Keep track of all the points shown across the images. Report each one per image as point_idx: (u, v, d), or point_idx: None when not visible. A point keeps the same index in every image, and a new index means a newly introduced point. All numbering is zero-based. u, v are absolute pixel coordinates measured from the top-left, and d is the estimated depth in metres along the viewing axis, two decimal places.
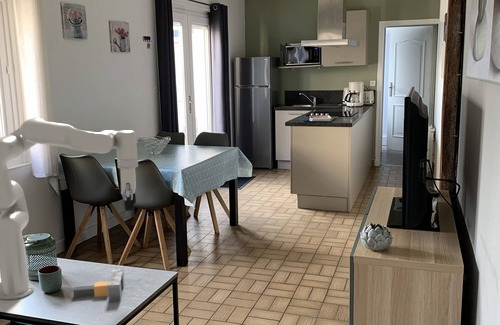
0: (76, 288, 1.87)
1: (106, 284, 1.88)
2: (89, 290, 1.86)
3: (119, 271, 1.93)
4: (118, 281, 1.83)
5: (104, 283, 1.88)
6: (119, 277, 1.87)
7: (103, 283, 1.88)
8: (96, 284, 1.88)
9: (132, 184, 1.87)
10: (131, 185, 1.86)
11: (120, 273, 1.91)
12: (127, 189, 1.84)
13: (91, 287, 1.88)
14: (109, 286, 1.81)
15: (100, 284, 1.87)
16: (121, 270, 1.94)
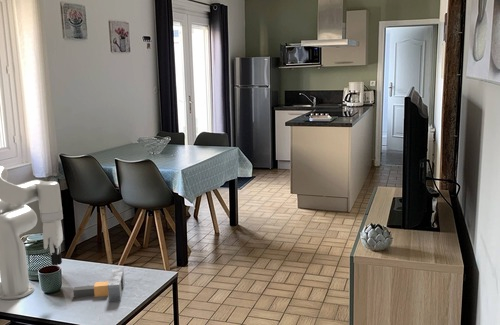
0: (76, 288, 1.87)
1: (106, 284, 1.88)
2: (89, 290, 1.86)
3: (119, 271, 1.93)
4: (118, 281, 1.83)
5: (104, 283, 1.88)
6: (119, 277, 1.87)
7: (103, 283, 1.88)
8: (96, 284, 1.88)
9: (55, 239, 1.78)
10: (54, 240, 1.78)
11: (120, 273, 1.91)
12: (51, 250, 1.78)
13: (91, 287, 1.88)
14: (109, 286, 1.81)
15: (100, 284, 1.87)
16: (121, 270, 1.94)
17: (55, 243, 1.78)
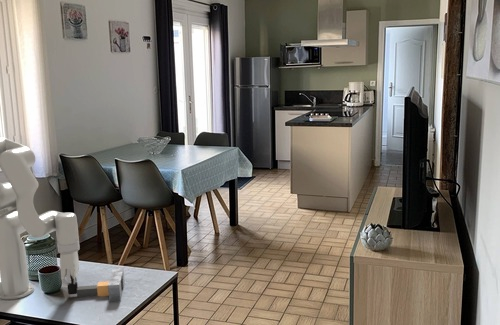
0: (79, 288, 1.87)
1: None
2: (92, 290, 1.87)
3: (119, 271, 1.93)
4: (118, 281, 1.83)
5: (107, 283, 1.89)
6: (119, 277, 1.87)
7: (106, 283, 1.89)
8: (99, 284, 1.88)
9: (72, 269, 1.81)
10: (71, 271, 1.81)
11: (120, 273, 1.91)
12: (68, 280, 1.81)
13: (94, 287, 1.88)
14: (109, 286, 1.81)
15: (104, 284, 1.87)
16: (121, 270, 1.94)
17: (72, 274, 1.81)
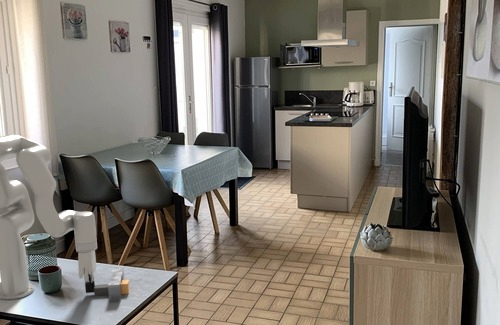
0: (96, 286, 1.88)
1: (126, 282, 1.89)
2: None
3: (119, 271, 1.93)
4: (118, 281, 1.83)
5: (124, 281, 1.90)
6: (119, 277, 1.87)
7: (123, 281, 1.90)
8: None
9: (90, 268, 1.82)
10: (89, 269, 1.81)
11: (120, 273, 1.91)
12: (86, 279, 1.82)
13: None
14: (109, 286, 1.81)
15: (121, 283, 1.88)
16: (121, 270, 1.94)
17: (90, 272, 1.82)
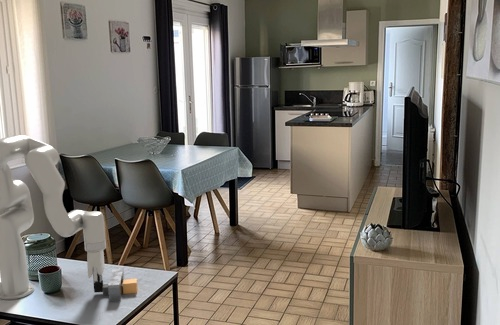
0: (105, 285, 1.89)
1: (135, 281, 1.89)
2: None
3: (119, 271, 1.93)
4: (118, 281, 1.83)
5: (132, 280, 1.90)
6: (119, 277, 1.87)
7: (131, 280, 1.90)
8: (125, 281, 1.89)
9: (99, 268, 1.82)
10: (98, 269, 1.82)
11: (120, 273, 1.91)
12: (95, 278, 1.82)
13: None
14: (109, 286, 1.81)
15: (129, 282, 1.89)
16: (121, 270, 1.94)
17: (99, 272, 1.82)
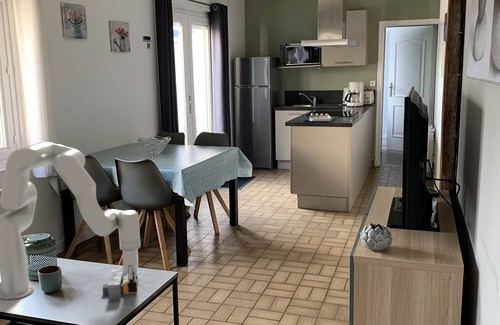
0: (105, 285, 1.89)
1: None
2: None
3: (119, 271, 1.93)
4: (118, 281, 1.83)
5: None
6: (119, 277, 1.87)
7: None
8: (125, 281, 1.89)
9: (135, 266, 1.84)
10: (134, 267, 1.84)
11: (120, 273, 1.91)
12: (130, 276, 1.83)
13: None
14: (109, 286, 1.81)
15: None
16: (121, 270, 1.94)
17: (134, 270, 1.84)
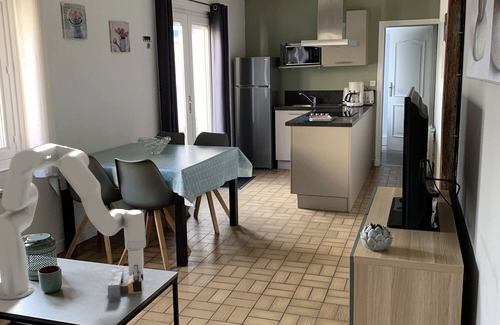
0: None
1: None
2: (123, 287, 1.88)
3: (119, 271, 1.93)
4: (118, 281, 1.83)
5: None
6: (119, 277, 1.87)
7: None
8: (130, 281, 1.90)
9: (140, 266, 1.84)
10: (139, 267, 1.84)
11: (120, 273, 1.91)
12: (135, 272, 1.81)
13: (125, 284, 1.89)
14: (109, 286, 1.81)
15: None
16: (121, 270, 1.94)
17: (140, 270, 1.84)
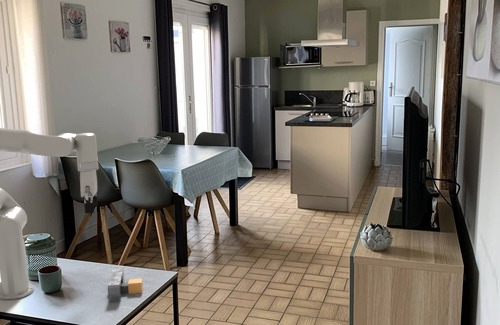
0: None
1: (140, 281, 1.89)
2: (123, 287, 1.88)
3: (119, 271, 1.93)
4: (118, 281, 1.83)
5: (138, 280, 1.90)
6: (119, 277, 1.87)
7: (137, 280, 1.90)
8: (130, 281, 1.90)
9: (92, 187, 1.86)
10: (91, 188, 1.86)
11: (120, 273, 1.91)
12: (86, 192, 1.83)
13: (125, 284, 1.89)
14: (109, 286, 1.81)
15: (134, 282, 1.89)
16: (121, 270, 1.94)
17: (92, 191, 1.87)
